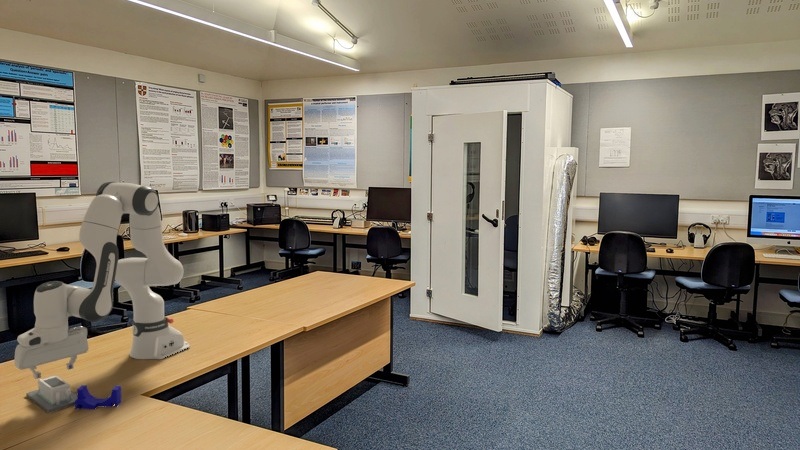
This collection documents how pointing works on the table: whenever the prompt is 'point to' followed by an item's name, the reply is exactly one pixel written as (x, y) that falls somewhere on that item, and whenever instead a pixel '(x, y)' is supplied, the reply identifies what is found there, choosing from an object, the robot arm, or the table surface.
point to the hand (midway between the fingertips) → (54, 373)
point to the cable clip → (91, 402)
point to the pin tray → (47, 404)
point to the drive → (53, 388)
